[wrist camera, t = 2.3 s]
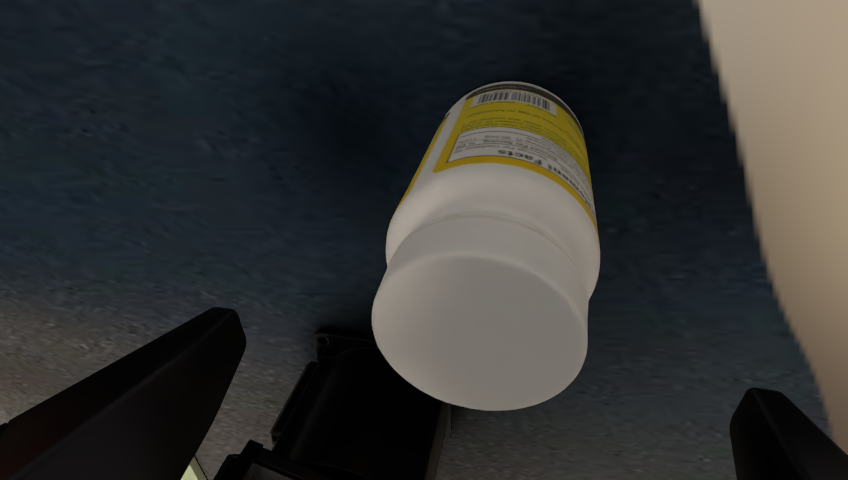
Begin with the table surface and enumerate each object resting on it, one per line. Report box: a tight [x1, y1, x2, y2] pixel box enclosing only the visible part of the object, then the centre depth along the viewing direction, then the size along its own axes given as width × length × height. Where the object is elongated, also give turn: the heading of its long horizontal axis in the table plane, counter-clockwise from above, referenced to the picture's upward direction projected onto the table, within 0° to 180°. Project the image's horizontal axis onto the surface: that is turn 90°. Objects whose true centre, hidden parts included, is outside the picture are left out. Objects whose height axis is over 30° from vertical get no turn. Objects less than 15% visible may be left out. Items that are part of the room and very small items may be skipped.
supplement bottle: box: [372, 81, 600, 411], centre depth 12 cm, size 5×5×8 cm
